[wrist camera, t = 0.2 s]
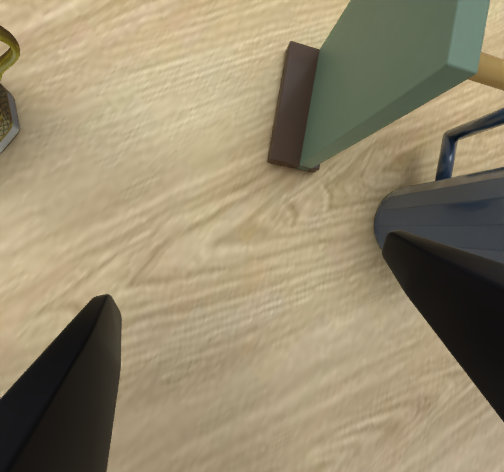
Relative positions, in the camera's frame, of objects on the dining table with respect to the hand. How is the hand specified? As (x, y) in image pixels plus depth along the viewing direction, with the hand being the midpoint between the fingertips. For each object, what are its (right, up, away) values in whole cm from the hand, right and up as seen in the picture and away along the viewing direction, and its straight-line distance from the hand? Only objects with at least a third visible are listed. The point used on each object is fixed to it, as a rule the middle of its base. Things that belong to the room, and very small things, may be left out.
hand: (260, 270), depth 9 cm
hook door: (+8, +11, +16) cm, 21 cm away
